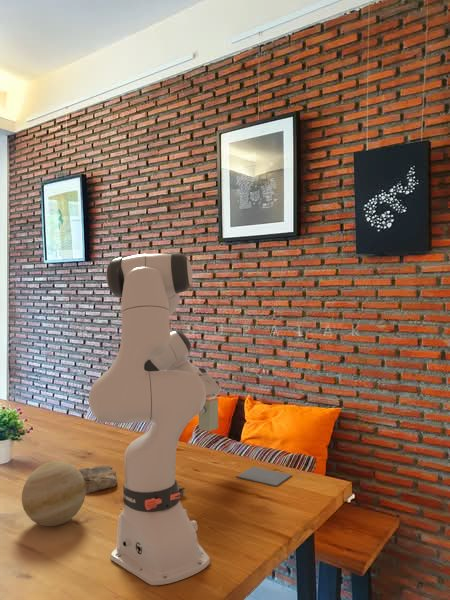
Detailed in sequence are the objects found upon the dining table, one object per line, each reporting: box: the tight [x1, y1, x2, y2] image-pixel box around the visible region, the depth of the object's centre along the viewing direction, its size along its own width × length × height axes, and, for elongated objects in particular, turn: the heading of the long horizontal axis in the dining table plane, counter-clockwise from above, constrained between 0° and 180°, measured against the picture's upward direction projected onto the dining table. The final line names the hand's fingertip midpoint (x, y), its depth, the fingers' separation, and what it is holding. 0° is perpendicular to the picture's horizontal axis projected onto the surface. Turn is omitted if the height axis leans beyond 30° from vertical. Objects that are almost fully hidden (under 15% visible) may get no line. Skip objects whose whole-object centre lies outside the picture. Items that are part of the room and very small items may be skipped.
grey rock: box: [78, 465, 118, 494], centre depth 143 cm, size 14×5×20 cm
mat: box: [236, 466, 293, 487], centre depth 148 cm, size 14×10×1 cm
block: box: [198, 396, 219, 432], centre depth 155 cm, size 4×4×10 cm
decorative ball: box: [21, 460, 87, 527], centre depth 119 cm, size 15×15×15 cm
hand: (209, 410), depth 155 cm, fingers closed on block, 4 cm apart
